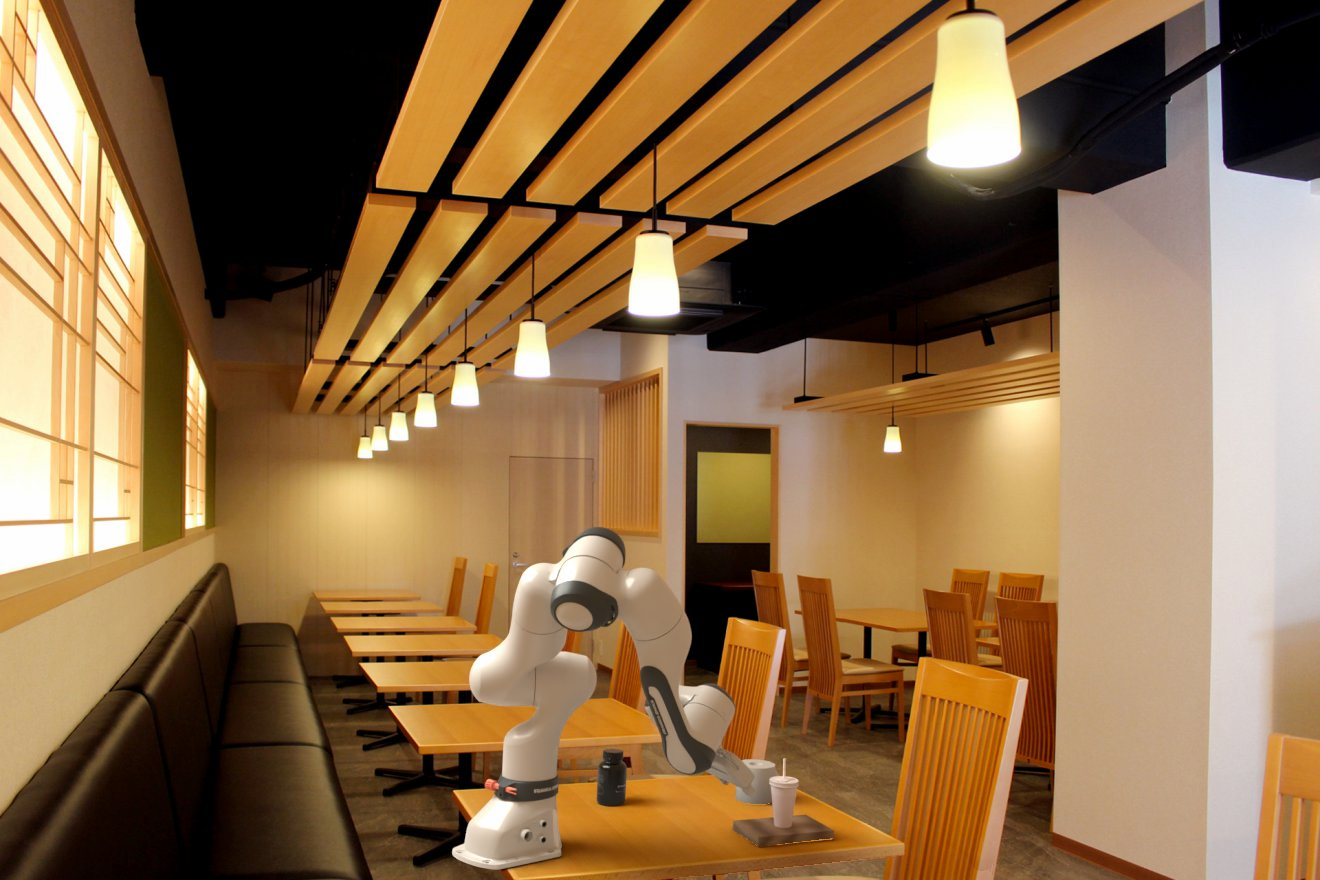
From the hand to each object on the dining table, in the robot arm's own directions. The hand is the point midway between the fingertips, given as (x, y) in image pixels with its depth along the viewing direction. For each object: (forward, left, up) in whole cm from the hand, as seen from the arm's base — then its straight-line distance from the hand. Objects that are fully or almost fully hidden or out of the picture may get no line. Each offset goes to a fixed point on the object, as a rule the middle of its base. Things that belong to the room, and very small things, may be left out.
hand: (739, 787), depth 222 cm
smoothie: (+10, -4, -9) cm, 15 cm away
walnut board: (+10, -4, -11) cm, 16 cm away
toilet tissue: (+30, +15, -11) cm, 35 cm away
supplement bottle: (+1, +38, -11) cm, 39 cm away
